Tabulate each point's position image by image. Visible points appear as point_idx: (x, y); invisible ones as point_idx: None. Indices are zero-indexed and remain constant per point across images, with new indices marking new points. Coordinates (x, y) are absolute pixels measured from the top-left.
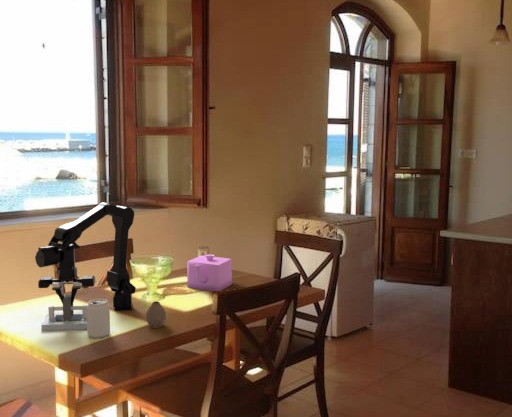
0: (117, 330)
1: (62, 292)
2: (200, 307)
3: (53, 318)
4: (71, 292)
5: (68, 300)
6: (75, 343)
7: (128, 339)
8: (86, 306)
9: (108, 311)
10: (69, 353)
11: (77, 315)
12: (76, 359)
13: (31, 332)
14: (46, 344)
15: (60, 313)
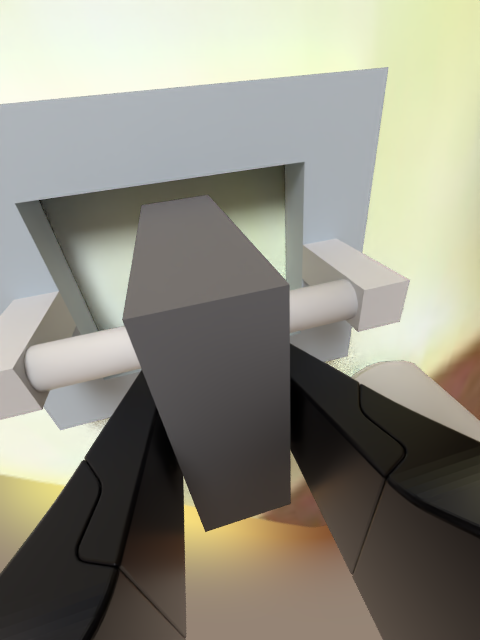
0: (448, 333)
1: (168, 604)
2: None
3: (74, 328)
4: (360, 592)
5: (273, 500)
6: (291, 462)
7: (459, 400)
8: (392, 319)
9: None
10: (286, 508)
11: (236, 168)
12: (309, 521)
13: (25, 430)
14: (189, 493)
15: (39, 151)
